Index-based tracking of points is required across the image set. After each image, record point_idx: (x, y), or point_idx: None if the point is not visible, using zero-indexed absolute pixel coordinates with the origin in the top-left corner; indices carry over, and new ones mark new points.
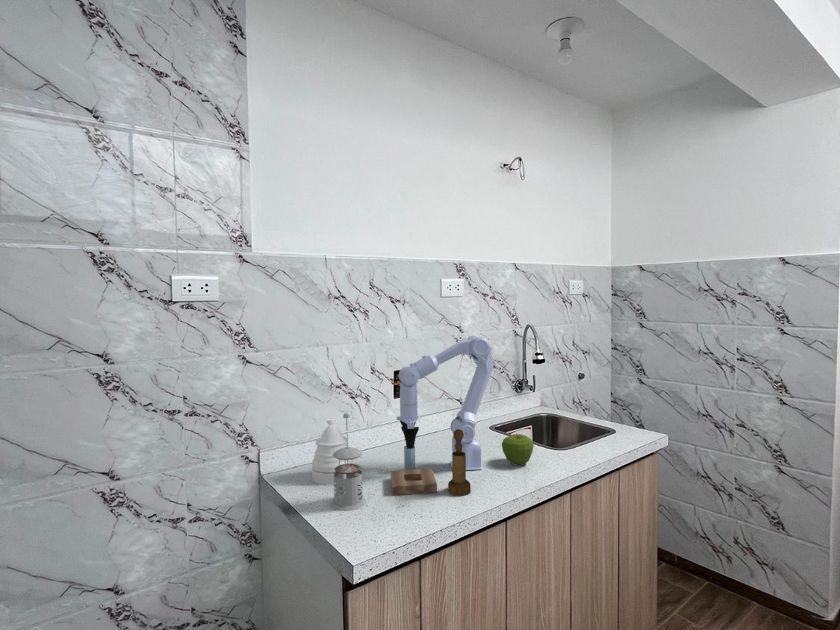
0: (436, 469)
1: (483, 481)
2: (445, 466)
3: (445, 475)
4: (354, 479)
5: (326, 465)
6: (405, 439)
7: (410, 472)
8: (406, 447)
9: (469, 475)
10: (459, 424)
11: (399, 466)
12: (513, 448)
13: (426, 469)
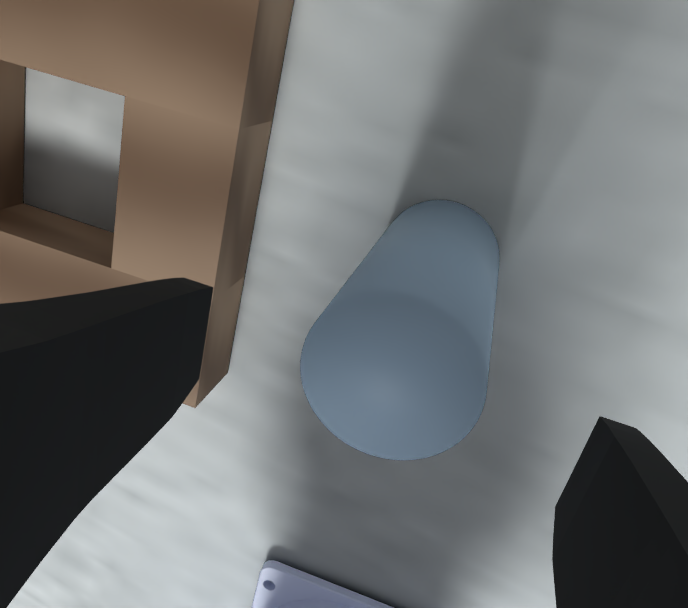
0: (366, 477)
1: (64, 598)
2: (400, 566)
3: (220, 470)
4: None
5: None
6: (28, 301)
7: (161, 186)
8: (370, 320)
9: (172, 593)
10: None
11: (630, 198)
12: None
13: None
